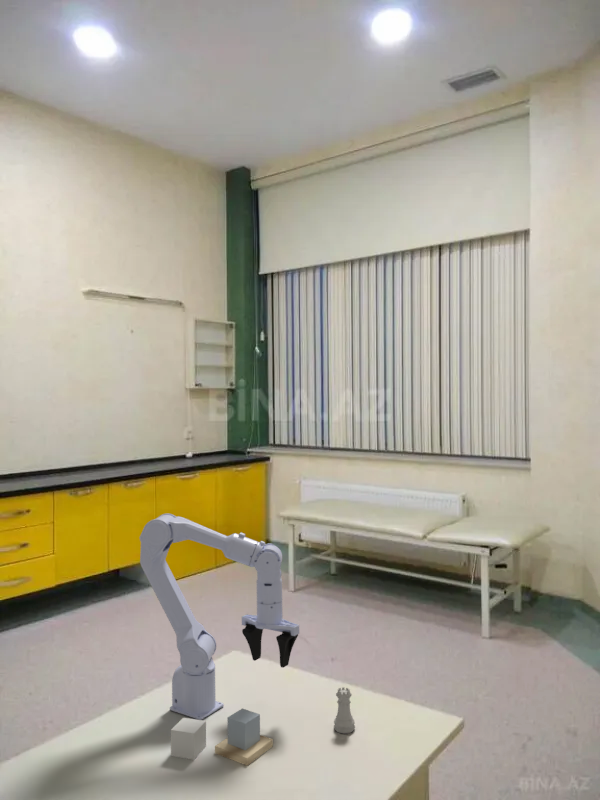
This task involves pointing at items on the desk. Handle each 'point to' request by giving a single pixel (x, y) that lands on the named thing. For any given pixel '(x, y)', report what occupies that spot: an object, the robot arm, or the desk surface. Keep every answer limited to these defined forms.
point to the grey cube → (188, 738)
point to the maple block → (244, 755)
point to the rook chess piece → (344, 712)
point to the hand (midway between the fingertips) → (270, 662)
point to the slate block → (243, 729)
